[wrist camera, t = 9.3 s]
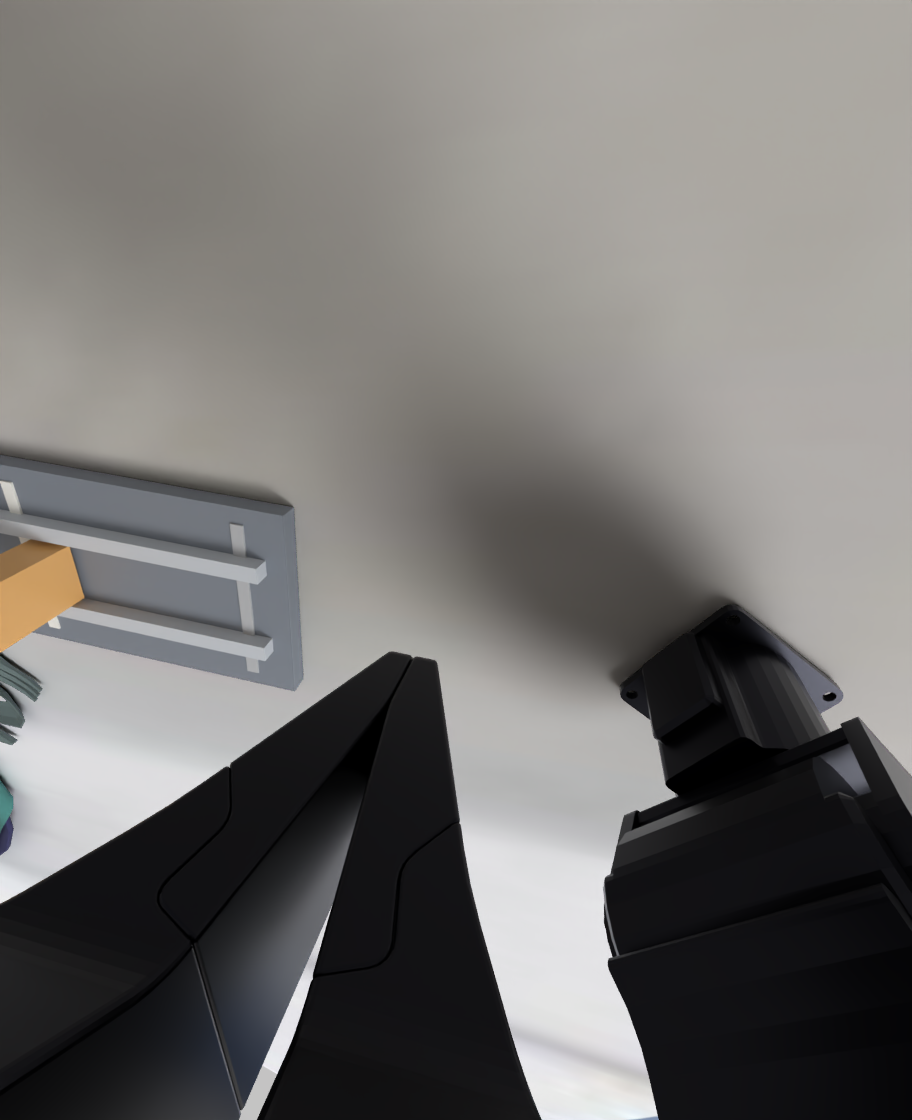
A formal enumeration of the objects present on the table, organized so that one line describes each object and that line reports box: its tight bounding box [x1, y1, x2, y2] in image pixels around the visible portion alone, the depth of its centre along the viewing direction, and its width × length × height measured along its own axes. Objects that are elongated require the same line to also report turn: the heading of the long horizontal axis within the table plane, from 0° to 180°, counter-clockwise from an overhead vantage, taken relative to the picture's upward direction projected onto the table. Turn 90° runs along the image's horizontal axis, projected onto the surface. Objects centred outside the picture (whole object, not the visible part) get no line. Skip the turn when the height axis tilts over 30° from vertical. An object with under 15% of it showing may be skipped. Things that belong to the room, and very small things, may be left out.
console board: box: [0, 455, 303, 691], centre depth 26 cm, size 16×10×2 cm, turn 84°
